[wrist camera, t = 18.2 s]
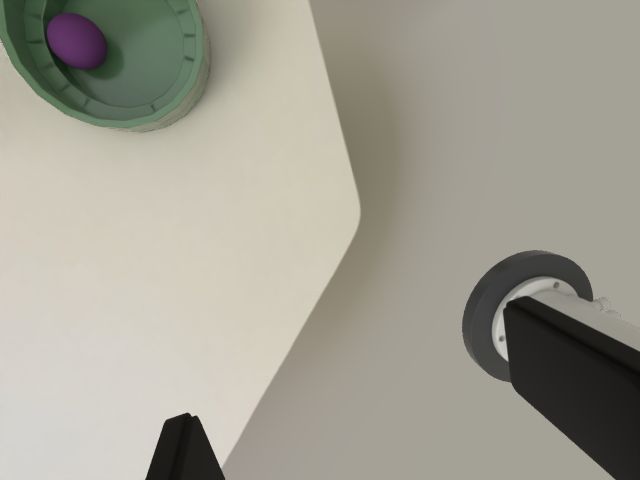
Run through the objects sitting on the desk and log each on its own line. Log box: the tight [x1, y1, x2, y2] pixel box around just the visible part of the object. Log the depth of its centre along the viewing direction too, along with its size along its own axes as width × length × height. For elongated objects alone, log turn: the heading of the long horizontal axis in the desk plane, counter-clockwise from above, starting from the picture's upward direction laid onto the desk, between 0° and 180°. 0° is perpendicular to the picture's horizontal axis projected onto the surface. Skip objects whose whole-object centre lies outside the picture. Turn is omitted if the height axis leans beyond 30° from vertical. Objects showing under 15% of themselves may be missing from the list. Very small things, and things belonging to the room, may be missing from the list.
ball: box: [47, 13, 107, 70], centre depth 28 cm, size 4×4×4 cm
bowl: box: [0, 0, 210, 132], centre depth 28 cm, size 14×14×5 cm
